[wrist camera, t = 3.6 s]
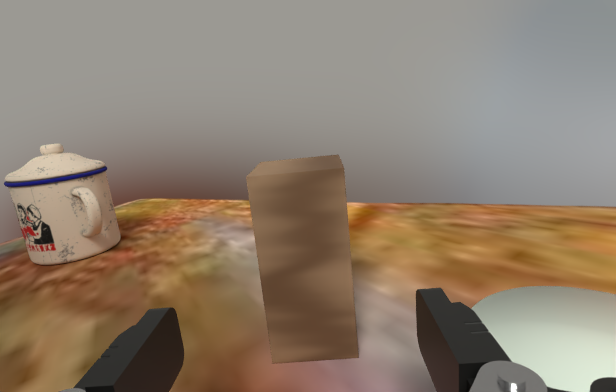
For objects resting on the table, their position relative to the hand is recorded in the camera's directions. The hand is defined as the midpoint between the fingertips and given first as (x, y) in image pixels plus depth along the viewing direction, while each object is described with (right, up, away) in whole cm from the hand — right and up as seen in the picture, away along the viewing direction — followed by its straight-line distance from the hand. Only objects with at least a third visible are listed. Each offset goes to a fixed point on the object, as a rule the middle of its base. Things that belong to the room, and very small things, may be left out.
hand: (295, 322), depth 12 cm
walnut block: (+1, -4, +9) cm, 10 cm away
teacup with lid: (-24, -2, +28) cm, 37 cm away
